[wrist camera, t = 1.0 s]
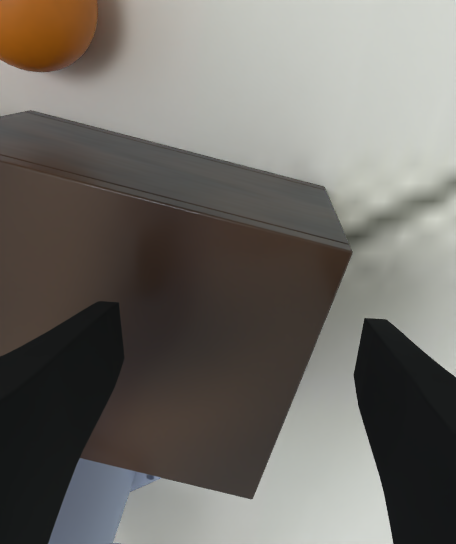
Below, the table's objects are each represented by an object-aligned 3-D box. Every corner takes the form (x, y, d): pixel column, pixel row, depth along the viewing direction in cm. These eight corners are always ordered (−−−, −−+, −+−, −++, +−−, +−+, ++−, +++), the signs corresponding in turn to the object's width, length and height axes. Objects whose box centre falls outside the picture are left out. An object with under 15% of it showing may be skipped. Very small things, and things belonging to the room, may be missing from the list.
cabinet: (24, 323, 25) (-70, 423, 18) (29, 109, 20) (-100, 135, 13) (257, 381, 26) (252, 500, 19) (325, 186, 20) (353, 251, 13)
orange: (59, 94, 20) (-5, 103, 15) (-21, -7, 18) (-119, -30, 14) (138, 22, 18) (93, 9, 13) (57, -95, 17) (-23, -153, 12)
